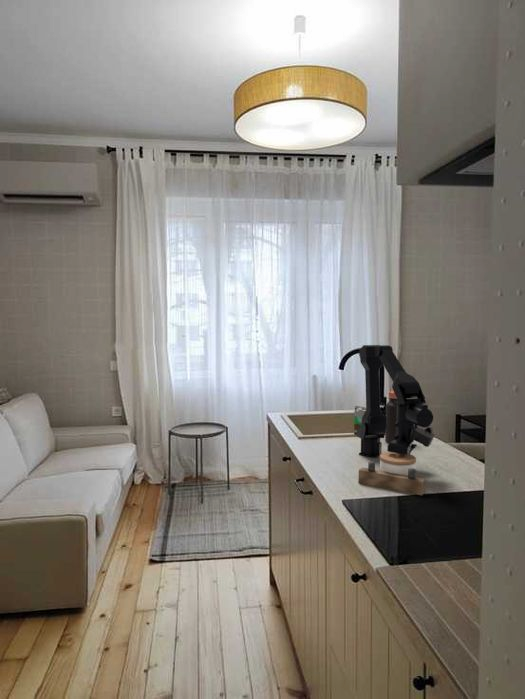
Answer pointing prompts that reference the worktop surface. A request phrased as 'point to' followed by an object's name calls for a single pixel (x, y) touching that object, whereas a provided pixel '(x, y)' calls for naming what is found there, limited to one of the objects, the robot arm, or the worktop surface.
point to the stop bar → (392, 480)
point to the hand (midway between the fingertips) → (404, 467)
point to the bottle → (391, 418)
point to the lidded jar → (397, 462)
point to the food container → (358, 417)
